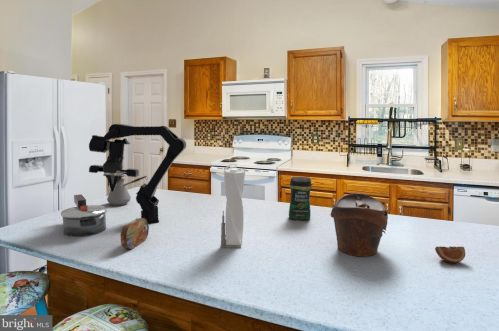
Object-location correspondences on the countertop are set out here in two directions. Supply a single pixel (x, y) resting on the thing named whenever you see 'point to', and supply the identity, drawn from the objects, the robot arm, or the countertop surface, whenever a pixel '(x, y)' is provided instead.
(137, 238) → the tin
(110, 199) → the coffee pot
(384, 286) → the countertop surface
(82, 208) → the cooker lid
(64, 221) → the cooker pot
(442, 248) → the fruit slice
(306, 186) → the coffee jar
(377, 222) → the brown flower pot
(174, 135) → the robot arm
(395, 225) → the countertop surface
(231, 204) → the skyscraper
